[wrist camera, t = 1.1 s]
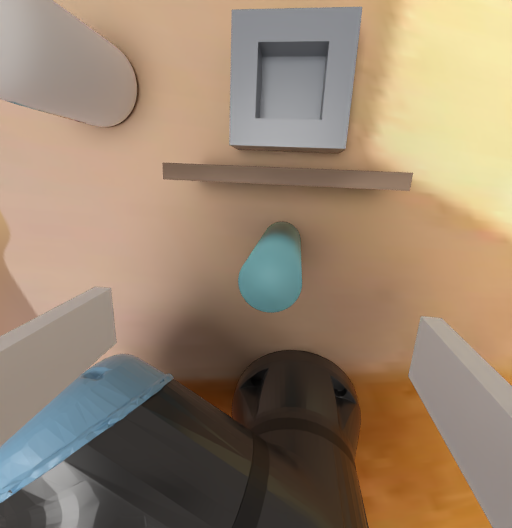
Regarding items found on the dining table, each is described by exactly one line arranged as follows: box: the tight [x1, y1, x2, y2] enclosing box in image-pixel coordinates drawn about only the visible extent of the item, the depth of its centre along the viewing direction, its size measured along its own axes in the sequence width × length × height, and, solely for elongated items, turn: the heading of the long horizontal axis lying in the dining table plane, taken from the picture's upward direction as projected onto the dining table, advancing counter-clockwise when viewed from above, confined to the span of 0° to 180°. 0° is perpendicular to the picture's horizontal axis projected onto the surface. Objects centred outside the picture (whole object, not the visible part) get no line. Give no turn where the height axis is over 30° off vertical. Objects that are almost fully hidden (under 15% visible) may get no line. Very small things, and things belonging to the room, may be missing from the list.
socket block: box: [229, 7, 362, 153], centre depth 26 cm, size 10×10×4 cm
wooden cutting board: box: [163, 163, 413, 191], centre depth 26 cm, size 1×18×9 cm, turn 87°
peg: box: [238, 222, 302, 312], centre depth 25 cm, size 4×4×14 cm
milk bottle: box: [0, 0, 137, 127], centre depth 21 cm, size 8×8×20 cm
